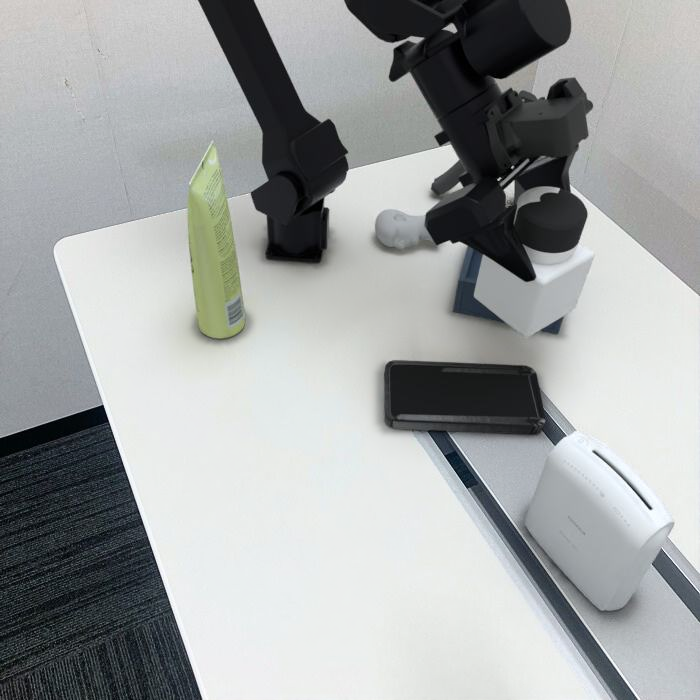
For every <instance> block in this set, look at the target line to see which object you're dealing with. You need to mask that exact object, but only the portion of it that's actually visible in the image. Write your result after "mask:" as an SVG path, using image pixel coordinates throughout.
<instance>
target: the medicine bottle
mask: <svg viewBox="0 0 700 700" xmlns="http://www.w3.org/2000/svg"><path fill="white" fill-rule="evenodd" d="M588 215H589V214H588V210H587V207H586V205H585V203H584V202H583V201H582V200H581V198H580V197H578V196H577V195H576V194H574V193H572V192H571V193H570V192H568V191H566V190H563V189H560V188H556V187H548V186H543V187H535V188H532V189H529V190H527V191H526V192H524V193H523V194H521V195H520V197H519V198H518V201H517V210H516V215H515V220H514V227H515V229H516V231H517V233H518V236H519V238H520V240H521V242H522V244H523V246H524V248H525V250H526V252H527V254H528V256H529V259H530V261H531V263H532V265H533V268H534V271H535V274H536V279H535V280H533V281H530V282H524V281H523V280H521V279H520V278H518V277H517V276H515V275H514V274H512V273H511V272H509V271H508V270H506V269H505V268H503V267H502V266H500V265H499V264H497V263H496V262H494V261H493V260H491V259H490V258H488V257H487V256H485V255H483V257H482V261H481V265H480V270H479V274H478V278H477V283H476V287H475V291H474V297H475V298H476V299H477V300H478V301H479V302H481V303H482V304H483V305H484V306H486V307H487V308H488V309H489V310H491V311H492V312H493V313H494V314H496V315H497V316H498V317H499V318H501V319H502V320H503V321H504V322H505V323H504V324H507V325H508V326H509V327H510V328H511V329H512V330H514V331H515V332H516V333H518V334H519V335H520V336H522V337H523V338H524V339H525V338H526V339H527V338H530V337H531V336H533V335H535V334H536V333H538V332H539V331H540V330H541V329H543V328H545V327H546V326H548V325H549V324H551V323H553V322H554V321H556V320H558V319H559V318H561V317H563V316H564V317H565V316H566V315H568V314H569V313H571V312H573V311H574V310H575V309H576V307H577V305H578V303H579V299H580V296H581V294H582V291H583V289H584V286H585V283H586V281H587V279H588V275H589V272H590V269H591V267H592V264H593V261H594V259H595V256H596V255H595V252H594V251H593V250H591V248H588V247H587V246H585V245H584V244H583V243H581V242H580V240H581V237H582V235H583V231H584V228H585V225H586V222H587V219H588Z"/></svg>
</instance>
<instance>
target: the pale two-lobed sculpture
mask: <svg viewBox="0 0 700 700" xmlns="http://www.w3.org/2000/svg"><path fill="white" fill-rule="evenodd" d="M425 217H426V214H424V215H423V214H422V215H410V214H408V213H405V212H404V211H401V210H398V209H393V208H387V209H385V210H382V211H381V212H379V214H378V215H377V216H376V219H375V222H374V232H375V235H376V237H377V238H378V240H379V241H380V242H381V243H382V244H383V245H385V246H386V247H388V248H394V247H395V248H396V249H399V250H404V249H405V248H409V247H412V246H417V245H418V244H419V243H420V240H427V241H430V242H431V243H433V244H435V243H434V241H433V240H432V238H431V236H430V235H429V233H428V231H427V230H426V228H425V226H424V223H425Z"/></svg>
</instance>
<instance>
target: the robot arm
mask: <svg viewBox="0 0 700 700" xmlns="http://www.w3.org/2000/svg"><path fill="white" fill-rule="evenodd" d="M197 1H198V3H199V6H200V7H201V10H202V12H203V13H204V16H205V17H206V18H205V19H206V20H207V22H208V24H209V26H210V28H211V31H212V32H213V34H214V36H215V38H216V40H217V42H218V44H219V46H220V48H221V50H222V52H223V55H224V56H225V58H226V60H227V62H228V64H229V67H230V68H231V71H232V73H233V75H234V77H235V79H236V81H237V83H238V85H239V87H240V89H241V91H242V93H243V95H244V97H245V99H246V101H247V103H248V106H249V107H250V109H251V111H252V114H253V115H254V117H255V119H256V121H257V123H258V125H259V127H260V129H261V132H262V139H261V140H262V145H261V164H262V167H263V170H264V172H265V175H266V177H267V181H266V182H264V183H263V184H260V185H259V186H258V187H257V188H255V189H254V190H252V191H251V192H250V198H251V199H252V203H253V206H254V208H255V210H256V211H257V212H259V213H260V214H263V215H265V216H266V228H267V229H266V231H267V232H266V233H267V245H266V249H265V253H264V254H265V255H264V256H265V259H267V260H277V261H290V262H301V263H315V264H319V263H321V262H322V260H323V259H322V258H323V252H324V250H326V249H327V248H328V244H329V238H330V237H329V236H330V208H329V206H328V207H326V206H325V202H326V201H325V200H326V199H325V198H326V197H327V196H329V195H331V194H333V193H335V191H336V189H337V188H339V187H340V186H341V185H343V184H344V183H345V181H346V180H347V179H346V178H347V174H348V172H349V170H350V168H349V162H348V160H347V156H346V155H348V154H349V151H348V149H347V148H346V147H345V145H344V144H343V142H342V140H341V139H340V137H339V133H338V130H337V128H336V125H335V123H334V122H333V121H332V119H330V118H327V119H325V120H324V121H322V122H321V121H320V120H319V119H317V117H315V116H314V115H312V114H311V113H310V112H308V111H307V110H306V108H305V106H304V105H303V103H302V101H301V98H300V96H299V94H298V92H297V89H296V87H295V86H294V83H293V81H292V79H291V77H290V75H289V73H288V70H287V68H286V66H285V64H284V62H283V60H282V57H281V55H280V53H279V51H278V49H277V47H276V45H275V42H274V40H273V38H272V36H271V34H270V31H269V29H268V27H267V25H266V23H265V21H264V19H263V17H262V15H261V12H260V10H259V8H258V5H257V4H256V2H255V0H197ZM343 1H344V4H345V7H346V8H347V10H348V11H349V13H350V14H351V15H353V17H355V19H357V20H358V21H359V22H360V23H361V24H362V25H363V26H364V27H365V28H366V29H367V30H368V31H369V32H370V33H371V34H372V35H373V36H374V37H376V38H377V39H379V40H381V41H382V42H384V43H389V44H394V43H398V42H402V41H404V42H402V43H400V44H399V45H396V46H395V47H393V49H392V55H393V57H392V61H391V65H390V69H389V74H388V80H389V81H390V82H391V83H395V82H397V81H398V80H400V79H401V78H403V77H404V76H406V75H408V74H409V75H411V78H412V79H413V80H414V82H415V84H416V86H417V87H418V89H419V91H420V93H421V95H422V96H423V98H424V100H425V102H426V104H427V105H428V107H429V109H430V110H431V112H432V114H433V116H434V117H435V119H436V122H437V123H438V125H439V127H440V128H441V130H440V131H439V132H438V133H436V134H434V136H433V137H434V139H435V141H436V142H437V144H438V146H439V147H441V146H443V145H446V144H448V143H449V144H450V146H451V147H452V149H453V151H454V153H455V154H456V157H457V158H458V160H460V162H461V163H462V165H463V167H464V169H465V170H466V171H465V172H464V173H463V174H461V175H460V176H459V177H458V179H459V181H460V182H459V183H460V184H461V186H462V188H459V189H457V190H455V191H453V192H450V193H448V194H446V195H445V196H444V197H443V198H442V199H440V200H439V201H438V202H437V203H436V204H435V205H433V207H431V208H430V209H429V210H427V212H426V213H425V215H426V217H425V223H424V226H425V228H426V230H427V231H428V233H429V235H430V236H431V238H432V240H433V241H434V243H435V246H439V245H442V244H444V243H446V242H450V243H451V244H452V245H455V244H458V243H462V244H463V245H465V246H467V247H468V246H469V247H470V248H472V249H474V250H476V251H478V252H480V253H482V254H483V255H485V256H487V257H488V258H490V259H491V260H493V261H494V262H496V263H497V264H499V265H500V266H502V267H503V268H505V269H506V270H508V271H509V272H511V273H512V274H514V275H515V276H517V277H518V278H520V279H521V280H523V281H524V282H530V281H533V280H535V279H536V274H535V271H534V268H533V265H532V263H531V261H530V259H529V256H528V254H527V252H526V250H525V248H524V246H523V244H522V242H521V240H520V238H519V236H518V233H517V231H516V229H515V227H514V220H515V215H516V210H517V204H514V205H513V204H511V205H509V206H507V194H506V192H505V191H504V190H505V189H506V188H508V186H510V185H511V184H512V183H514V180H515V179H516V181H517V182H518V183H519V184H520V185H521V186H522V188H523V189H524V190H525V191H527V190H529V189H532V188H535V187H543V186H548V187H556V188H560V189H563V190H566V191H568V192H570V193H572V190H571V182H570V168H571V165H572V163H573V160H574V158H575V155H576V153H577V152H578V151H579V148H580V142H582V141H583V140H584V141H585V140H587V138H589V135H590V134H589V128H588V127H589V126H588V119H587V115H588V114H589V113H590V112H591V111H592V110H593V109H594V104H593V102H592V101H591V100H589V99H588V97H587V92H586V91H585V90H584V89H583V87H582V85H581V84H580V82H579V81H578V80H577V78H576V77H574V76H573V77H564V78H560V79H558V80H557V81H555V82H554V83H553V84H552V85H551V86H550V87H549V89H548V92H547V94H546V96H540V97H538V98H537V99H538V100H537V101H534V102H528V103H524V102H523V101H522V100H521V98H520V96H519V91H517V90H514V89H513V87H511V86H510V87H509V88H508V89H505V90H504V91H502V89H501V88H500V86H499V84H498V83H497V80H504V79H507V78H509V77H511V76H512V75H515V74H516V73H517V72H519V71H521V70H523V69H525V68H526V67H528V66H530V65H531V64H533V63H534V62H536V61H538V60H540V59H542V58H544V57H545V56H547V55H549V54H551V53H552V52H554V51H556V50H557V49H559V48H560V47H562V46H564V45H566V44H567V42H568V41H569V40H570V37H571V33H572V18H571V13H570V9H569V6H568V3H567V1H566V0H343ZM451 24H453V26H454V27H455V29H456V32H453V31H451V30H448V29H445V28H447V27H448V26H450V25H451ZM410 37H412V38H413V37H414V38H422V39H421V40H420V41H418V42H413V41H411V40H409V38H410ZM407 39H408V40H407ZM434 243H433V244H434Z"/></svg>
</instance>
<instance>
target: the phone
mask: <svg viewBox="0 0 700 700" xmlns="http://www.w3.org/2000/svg"><path fill="white" fill-rule="evenodd" d="M539 383H540V382H539V379H538V374H537V372H536V370H535V369H534V368H533V367H531V366H530V365H526V364H525V365H524V364H503V363H481V362H480V363H479V362H478V363H477V362H455V361H454V362H453V361H431V360H429V361H428V360H409V359H408V360H405V359H392V360H390V361H388V362H387V363H386V364H385V366H384V373H383V386H384V387H383V388H384V389H383V390H384V391H383V392H384V393H383V394H384V395H383V396H384V399H383V400H384V422H385V424H386V425H387V426H389V427H390V428H392V429H397V430H418V431H419V430H420V431H421V430H422V431H445V432H466V433H467V432H469V433H470V432H471V433H494V434H495V433H497V434H517V435H518V434H519V435H522V434H523V435H537V434H539V433H541V432H542V430H543V428H544V426H545V423H546V414H545V408H544V404H543V399H542V393H541V388H540V384H539Z"/></svg>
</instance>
